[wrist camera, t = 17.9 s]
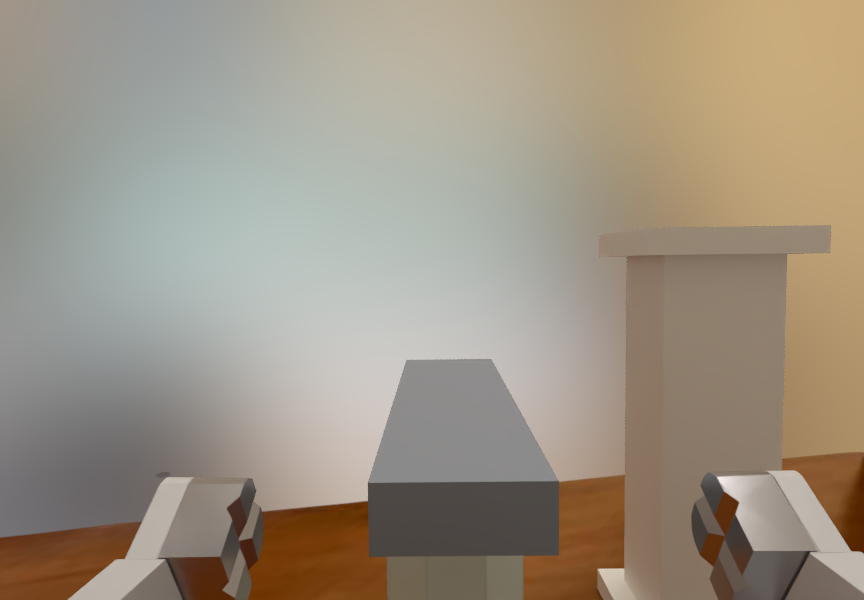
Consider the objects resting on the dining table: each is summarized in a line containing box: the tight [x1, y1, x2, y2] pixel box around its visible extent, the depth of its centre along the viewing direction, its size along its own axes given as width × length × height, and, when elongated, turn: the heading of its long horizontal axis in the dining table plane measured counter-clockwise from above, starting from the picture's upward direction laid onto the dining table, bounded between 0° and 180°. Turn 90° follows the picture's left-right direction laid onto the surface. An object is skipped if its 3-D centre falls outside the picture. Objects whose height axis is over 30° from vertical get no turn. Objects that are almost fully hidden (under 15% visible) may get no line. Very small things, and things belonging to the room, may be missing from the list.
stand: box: [597, 225, 831, 600], centre depth 39 cm, size 10×10×26 cm
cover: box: [368, 359, 559, 557], centre depth 26 cm, size 5×20×2 cm, turn 179°
